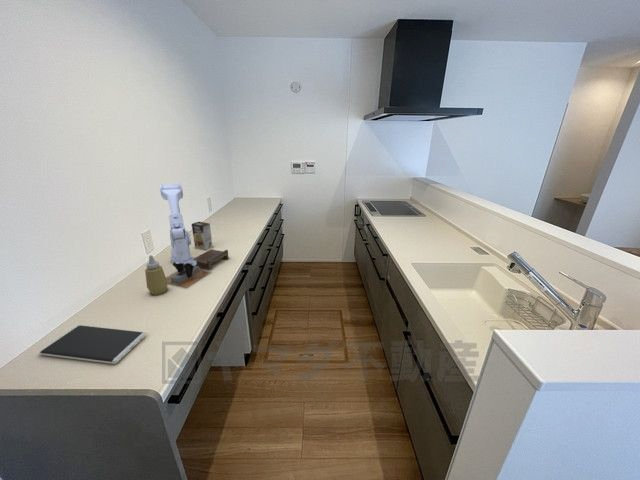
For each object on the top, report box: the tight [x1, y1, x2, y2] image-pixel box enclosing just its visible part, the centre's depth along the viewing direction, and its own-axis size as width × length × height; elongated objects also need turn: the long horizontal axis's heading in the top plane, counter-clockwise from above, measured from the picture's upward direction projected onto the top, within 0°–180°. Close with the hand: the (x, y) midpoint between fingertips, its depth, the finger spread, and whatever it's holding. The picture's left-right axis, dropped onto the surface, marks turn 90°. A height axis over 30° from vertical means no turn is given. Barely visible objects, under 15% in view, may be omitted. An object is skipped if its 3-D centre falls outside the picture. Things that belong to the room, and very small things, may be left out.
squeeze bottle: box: [144, 254, 168, 296], centre depth 117 cm, size 8×8×18 cm
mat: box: [165, 269, 211, 289], centre depth 133 cm, size 16×16×1 cm
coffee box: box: [190, 221, 213, 251], centre depth 166 cm, size 9×6×16 cm
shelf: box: [193, 248, 230, 271], centre depth 148 cm, size 12×16×6 cm
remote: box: [171, 266, 201, 284], centre depth 132 cm, size 14×4×3 cm, turn 161°
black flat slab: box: [39, 324, 146, 365], centre depth 88 cm, size 13×27×2 cm, turn 83°
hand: (186, 275), depth 132 cm, fingers closed on remote, 4 cm apart
